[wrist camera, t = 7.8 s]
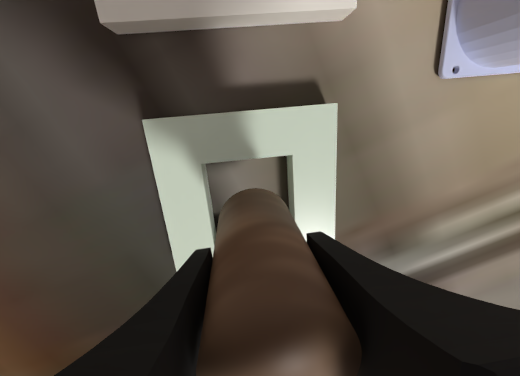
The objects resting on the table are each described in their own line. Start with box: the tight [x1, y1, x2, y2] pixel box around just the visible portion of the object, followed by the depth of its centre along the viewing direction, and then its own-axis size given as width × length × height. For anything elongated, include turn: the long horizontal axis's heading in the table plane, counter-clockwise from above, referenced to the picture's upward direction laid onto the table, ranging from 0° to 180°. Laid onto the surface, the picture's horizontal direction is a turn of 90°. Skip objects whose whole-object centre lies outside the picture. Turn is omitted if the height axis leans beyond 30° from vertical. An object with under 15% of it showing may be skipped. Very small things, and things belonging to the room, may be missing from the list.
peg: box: [196, 188, 362, 376], centre depth 10 cm, size 4×4×8 cm
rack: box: [142, 103, 337, 271], centre depth 17 cm, size 12×12×2 cm
